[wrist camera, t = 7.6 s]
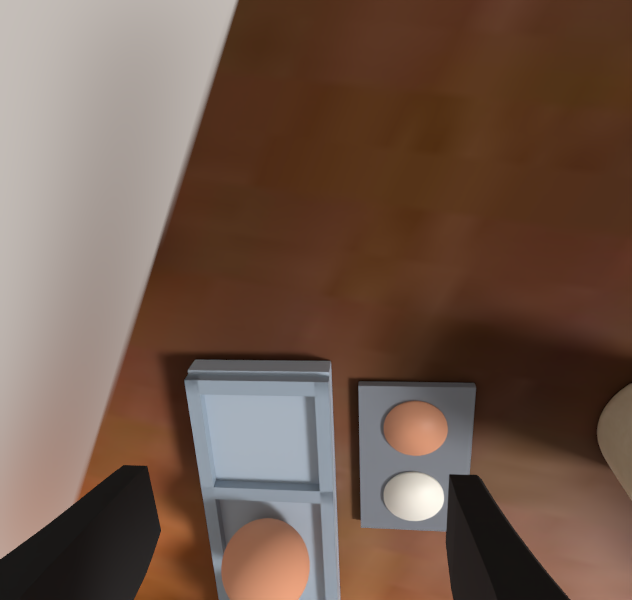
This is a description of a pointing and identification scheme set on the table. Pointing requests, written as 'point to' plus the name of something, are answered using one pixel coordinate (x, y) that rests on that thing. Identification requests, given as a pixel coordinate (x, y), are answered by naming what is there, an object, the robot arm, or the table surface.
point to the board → (268, 456)
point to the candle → (618, 436)
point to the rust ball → (265, 562)
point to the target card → (412, 450)
